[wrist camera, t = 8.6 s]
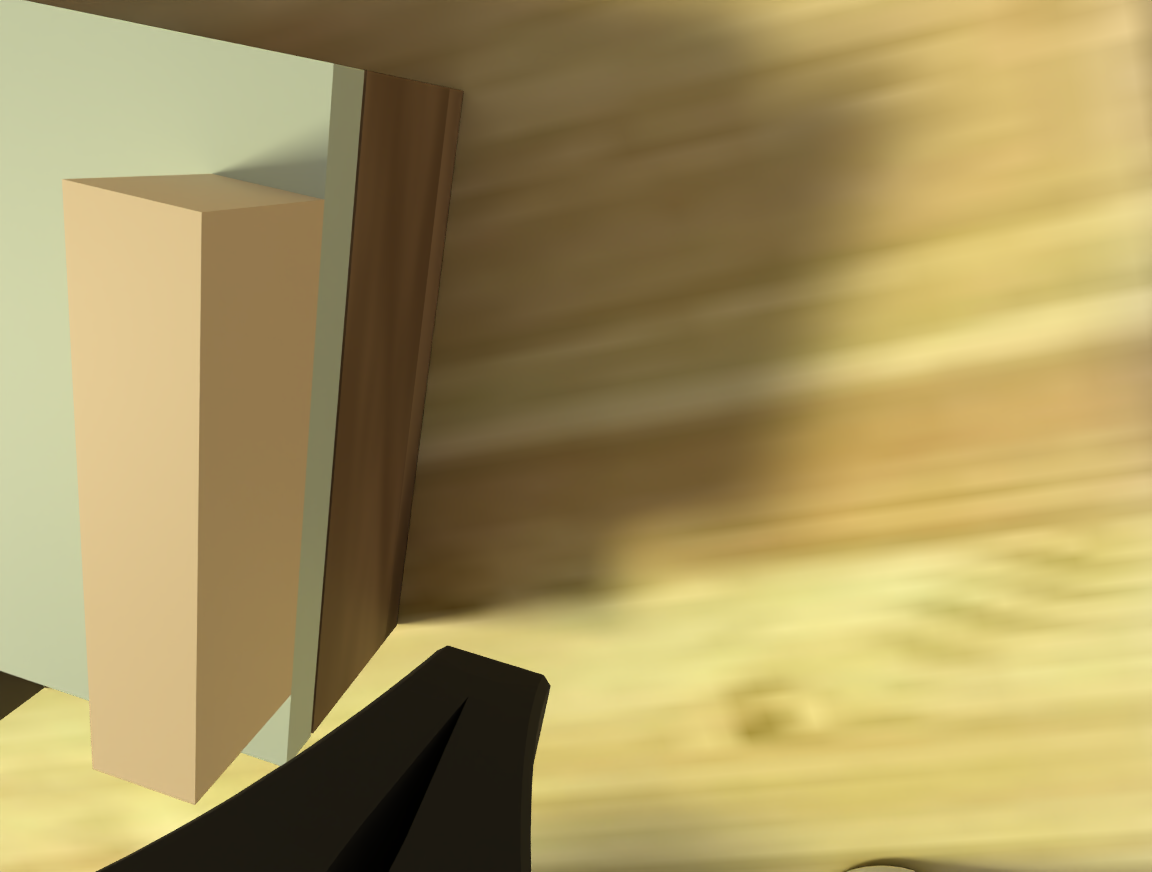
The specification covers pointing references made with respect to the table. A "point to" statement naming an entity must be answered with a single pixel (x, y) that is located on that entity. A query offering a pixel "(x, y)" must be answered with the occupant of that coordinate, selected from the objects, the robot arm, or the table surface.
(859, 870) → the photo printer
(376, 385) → the brown wooden box
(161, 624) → the lid
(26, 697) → the dark brown block
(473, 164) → the table surface
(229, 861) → the robot arm
